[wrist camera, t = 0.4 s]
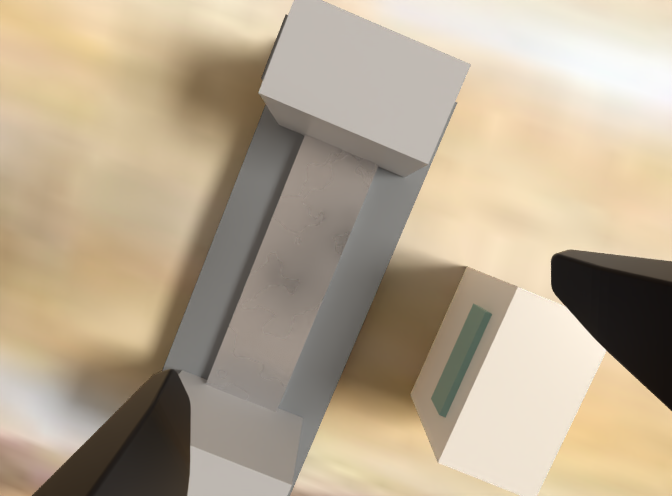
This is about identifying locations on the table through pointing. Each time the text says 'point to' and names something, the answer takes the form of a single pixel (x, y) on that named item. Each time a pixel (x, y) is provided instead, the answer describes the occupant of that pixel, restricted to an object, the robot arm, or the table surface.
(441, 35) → the table surface
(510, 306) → the block
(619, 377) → the table surface
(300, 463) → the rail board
